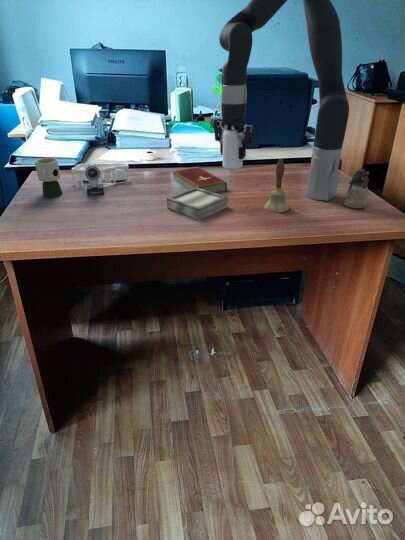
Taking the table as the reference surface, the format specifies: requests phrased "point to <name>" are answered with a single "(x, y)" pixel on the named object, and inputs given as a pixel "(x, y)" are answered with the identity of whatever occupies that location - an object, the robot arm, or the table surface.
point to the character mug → (49, 176)
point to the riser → (197, 202)
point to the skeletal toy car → (114, 168)
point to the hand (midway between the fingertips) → (232, 156)
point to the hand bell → (278, 193)
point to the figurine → (357, 190)
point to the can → (231, 150)
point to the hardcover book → (199, 179)
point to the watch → (93, 180)
